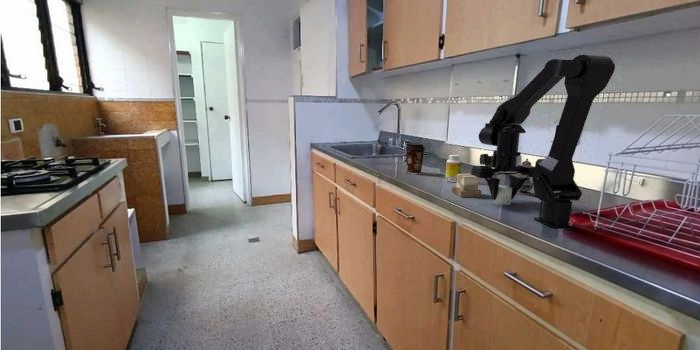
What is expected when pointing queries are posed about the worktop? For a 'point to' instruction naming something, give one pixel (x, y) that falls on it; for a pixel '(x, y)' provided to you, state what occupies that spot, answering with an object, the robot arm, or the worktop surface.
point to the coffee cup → (414, 157)
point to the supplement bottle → (453, 168)
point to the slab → (466, 192)
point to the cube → (467, 182)
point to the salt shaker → (526, 183)
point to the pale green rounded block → (503, 195)
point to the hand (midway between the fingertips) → (502, 199)
